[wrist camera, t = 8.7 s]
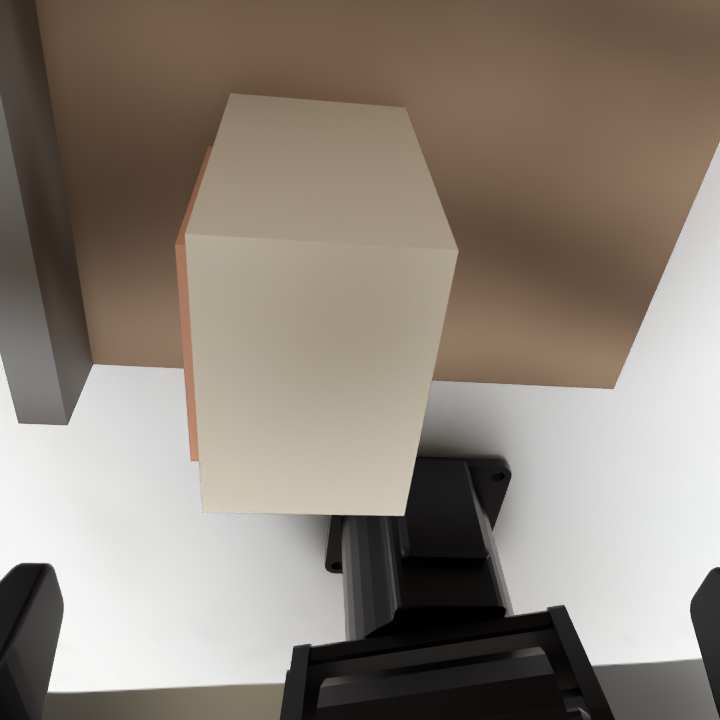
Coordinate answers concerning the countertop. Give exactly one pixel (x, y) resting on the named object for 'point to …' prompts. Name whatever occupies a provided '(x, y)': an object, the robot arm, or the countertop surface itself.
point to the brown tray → (362, 86)
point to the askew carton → (311, 307)
